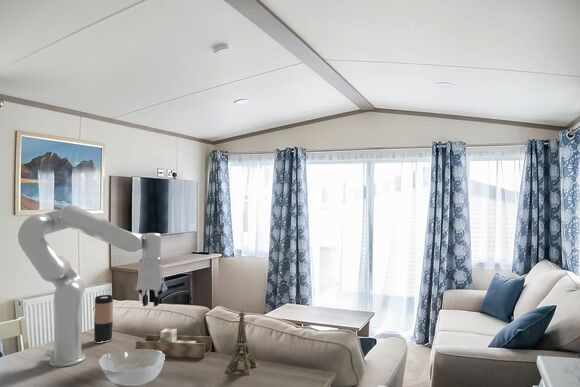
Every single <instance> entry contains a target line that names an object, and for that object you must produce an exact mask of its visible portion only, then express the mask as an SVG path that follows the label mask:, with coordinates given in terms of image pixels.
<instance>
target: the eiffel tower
mask: <svg viewBox="0 0 580 387" xmlns="http://www.w3.org/2000/svg"><path fill="white" fill-rule="evenodd" d="M245 316H246V312H245V311H244V312H243V310H241V311H240V312H239V313H238V317H239V322H238V323H239V324H238V330H237V331H238V332H237V340H236V342H234V343H235V344H234V345H235V349H234V353H233V354H232V359H231V360H230V361H229V363H228V365H227V366H226V368H225V369H224V371H222V373H223V374H231V373H232V372H233V371H234V366H239V365H240V364H241V362H242V364H243V369H244V372H243V376H252V374H253V373H254V371H252V368H258V367H259V366H260V363H258V362H257V360H256V359H255V358H254V357H253V356H252V354H251V351H250V349H249V345H248V344H249V340H247V334H246V324H245ZM241 349H242V351H241ZM248 362H249V363H250V365H249V363H248Z"/></svg>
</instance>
